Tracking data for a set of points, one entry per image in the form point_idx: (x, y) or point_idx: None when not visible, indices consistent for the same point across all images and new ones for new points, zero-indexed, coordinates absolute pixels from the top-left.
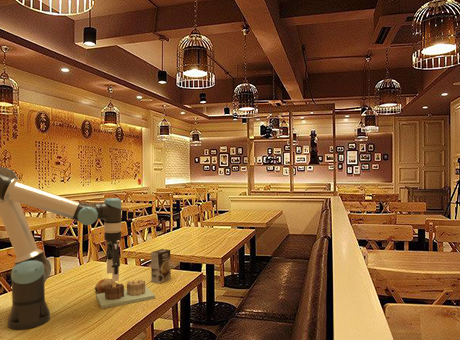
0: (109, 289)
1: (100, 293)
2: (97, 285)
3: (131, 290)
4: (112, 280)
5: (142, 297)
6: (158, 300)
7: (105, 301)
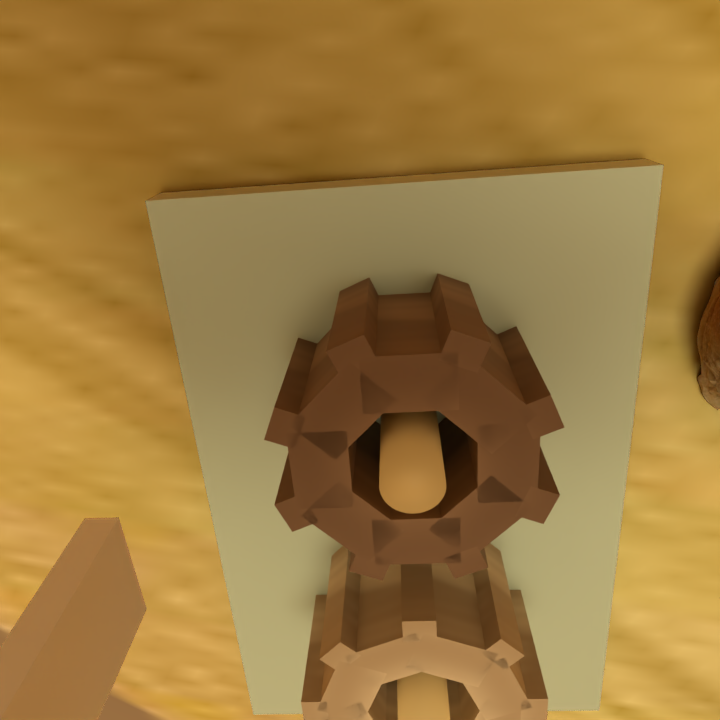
0: (323, 382)
1: None
2: None
3: (332, 597)
4: (93, 531)
5: (242, 623)
6: (201, 696)
7: (276, 263)
